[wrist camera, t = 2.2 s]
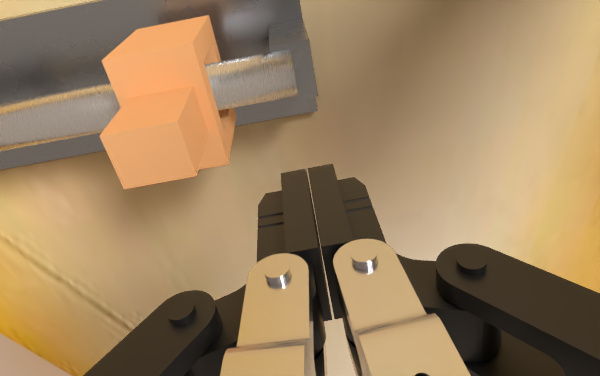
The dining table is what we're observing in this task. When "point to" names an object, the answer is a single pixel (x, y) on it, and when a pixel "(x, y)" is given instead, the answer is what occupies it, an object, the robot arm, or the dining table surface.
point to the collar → (166, 105)
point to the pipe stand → (112, 32)
